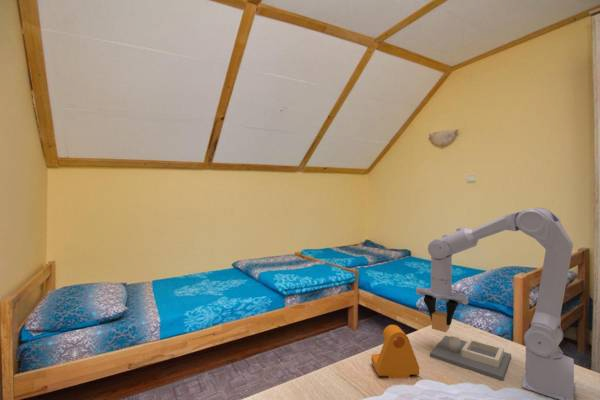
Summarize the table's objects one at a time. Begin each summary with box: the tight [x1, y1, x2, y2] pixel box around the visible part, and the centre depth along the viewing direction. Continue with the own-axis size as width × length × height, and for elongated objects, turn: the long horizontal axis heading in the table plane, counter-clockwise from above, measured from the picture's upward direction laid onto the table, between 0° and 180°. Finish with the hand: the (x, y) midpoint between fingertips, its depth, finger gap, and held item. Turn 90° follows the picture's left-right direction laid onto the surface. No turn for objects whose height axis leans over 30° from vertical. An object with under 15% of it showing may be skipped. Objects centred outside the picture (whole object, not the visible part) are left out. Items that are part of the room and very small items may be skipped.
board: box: [429, 335, 512, 381], centre depth 90 cm, size 18×15×4 cm
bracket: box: [371, 324, 420, 379], centre depth 83 cm, size 11×7×12 cm, turn 94°
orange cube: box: [431, 309, 451, 333], centre depth 94 cm, size 4×4×4 cm
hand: (441, 322), depth 94 cm, fingers closed on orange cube, 4 cm apart
